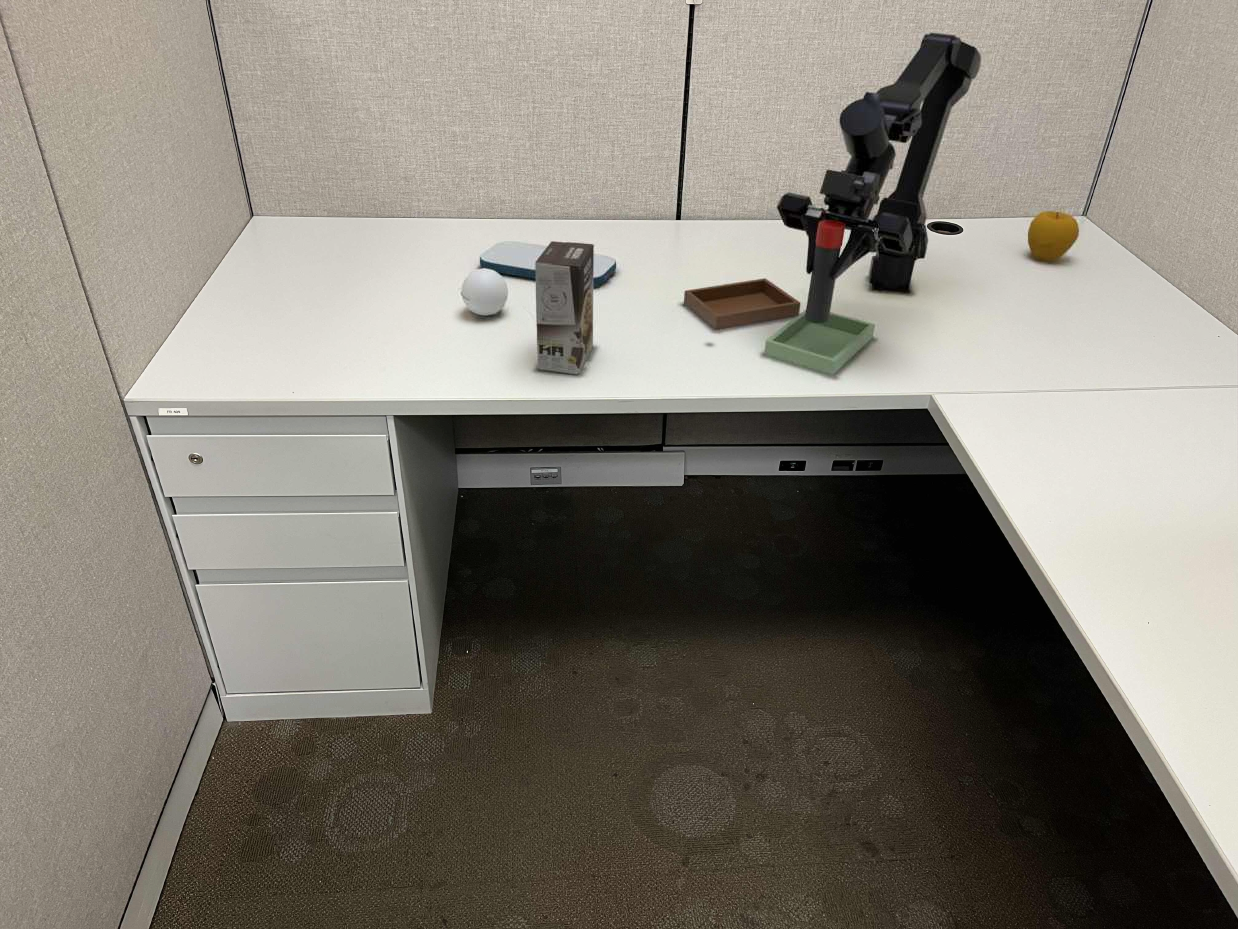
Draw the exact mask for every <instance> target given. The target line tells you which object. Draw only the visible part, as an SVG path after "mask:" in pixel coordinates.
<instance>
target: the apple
mask: <svg viewBox="0 0 1238 929" xmlns="http://www.w3.org/2000/svg"><path fill="white" fill-rule="evenodd" d="M1079 234H1080V228H1079V223H1078V221H1077V219H1076V218H1075V217H1074V216H1072V215H1071V214H1067V213H1065V212H1062V211H1061V212H1060V211H1054V210H1044V211H1042V212H1040V213H1038V214H1037V215H1036V216H1035V217H1033V219H1032V220H1031V222H1030V224H1029V227H1028V231H1027V243H1028V247H1029V251H1030V254H1031V255H1032V257H1033V258H1034V259H1036V260H1039V261H1042V262H1047V263H1051V262H1055V261H1057V260H1059V259H1060V258H1062V257H1063V256H1064V255H1065V254H1066V253H1067V252H1068V251H1069V250H1070V249H1071V248H1072V247H1073V246H1074V244H1075V243H1076V241H1077V240H1078V237H1079Z"/></svg>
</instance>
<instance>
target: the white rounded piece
mask: <svg viewBox="0 0 1238 929" xmlns="http://www.w3.org/2000/svg"><path fill="white" fill-rule="evenodd" d="M460 290H461V291H460V296H461V298H462V301H463V304H464V305H465V306H466V308H467V309H468V310H470V311H471V312H472V313H474V314H476V315H478V316H485V317H487V316H491V315H495V314H497V313H499V312H500V311H501V310H502V309H503V308H504V307H505V305H506V303H507V301H508V296H509V289H508V284H507V282H506V280H505V279H504V277H503V276H502V275H501V273H499V272H496V271H494V270H490V269H486V268H482V267H481V268H478V269H475V270H472V271H471V272H469V274H468V275H466V277H464V279H463V282H462V285H461V288H460Z"/></svg>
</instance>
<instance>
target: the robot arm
mask: <svg viewBox="0 0 1238 929" xmlns="http://www.w3.org/2000/svg"><path fill="white" fill-rule="evenodd" d="M981 63H982V55H981V53H980V52H979V50H978V48H976V46H974V45H970V44H969V43H966V42H965V41H962V39H961V38H960V37H958V36H956V35H955V34H949V33H939V32H930V33H925V34H924V36H923V37H922V40H921V42H920V46H919V48H918V50H917V51H916V53H915V54H914V56H913V57H912V59H911V60H910V61H909V62H908V64H907V65H906V66H905V67H904V69H903V71H902V72H901V74H899V76H898V78H897V79H896V81H894V83H892V84H889V85H885V86H884V87H880V88H879V89H878V90H877V91H876V92H870V91H865V93H864V95H863V97H862V98H859V99H857V100H855V101H852V102H850V103H849V104H848V105H847V106H846V107H845V108H844V109H842V110H841V112H840V116H839V126H840V129H841V133H842V138H843V141H844V146H845V149H846V152H847V153H848V154H849V155H850V158H849V160H848V163H847V165H846V167H845V170H843V169H841V171H839V170H833V169H826V171H825V174H824V177H823V180H822V184H821V186H820V190H819V194H820V195H824V198H823V203H824V205H825V206H828V207H827V209H825V208H824V207H822V206H819V205H818V206H817V205H813V202H812V199H811V197H810V196H808V195H802V194H797V193H793V192H786V193H785V194H783V195H781V197H780V198H779V201H778V202H777V205H776V209H777V212H778V214H779V216H780V218H781V221H782V223H783V225H784V226H785V227H786V228H788V229H793V230H796V231H797V230H798V231H801V232H805V234H806V236H807V239H808V240H807V241H808V242H807V243H808V244H807V256H806V268H805V270H806V275H812V268H813V261H814V255H815V248H816V237H817V230H818V224H819V222H820V221H823V220H835V221H840V222H842V223H844V224H845V230H847V231H850V233H849V236H848V240H847V241H846V244H845V246H844V247H843V249H842V251H841V252H840V256H839V259H838V261H837V263H836V265H835V267H834V269H833V272H832V275H831V279H832V280H835V281H836V280H837V279H838V278H839V277H840V276H841V275H843V274H844V273H845V272H846V271H847V270H848V269H850V268H851V267H852V266H853V265H854V264H856V262H858V261H859V260H861V259H862V258H863V257H865V256H867V255H868V254H869V253H875V255H872V256H871V259H870V265H869V269H868V276H867V279H868V283H869V284H870V286H871V290H872V291H874V292H875V291H876V292H887V293H897V294H898V293H899V294H900V293H901V294H911V292H912V289H911V282H912V277H913V272H914V268H915V263H916V261H917V260H920V259H925V258H926V255H927V251H928V250H927V249H928V244H929V236H928V231H927V225H926V222H927V218H928V215H927V211H926V210H927V209H926V207H925V202H924V195H925V192H926V189H927V185H928V182H929V180H930V176H931V173H932V171H933V167H934V164H935V161H936V158H937V155H938V152H939V148H940V145H941V142H942V139H943V136H944V133H945V130H946V127H947V124H948V120H949V117H950V114H951V111H952V108H953V107H954V106H955V105H956V104H958V102H959V101H960V100H961V99H962V98H964V96H965V95H966V94H968V92H969V89H970V87H971V84H972V81H973V80H975V79H976V78H977V76H978V73H979V70H980V67H981ZM909 141H910V143H909V145H908V149H907V151H906V152H907V153H906V155H905V159H904V162H903V165H902V167H901V171H900V175H899V178H898V181H897V183H896V187H895V189H894V190H893V192H891V194H889V195H888V196H887V197H885V196H884V197H883V198H882V200H881V201H880V198H881V197H880V194H881V190H882V189H883V185H884V184H885V181H886V179H887V177H888V174H889V172H890V170H892V169H893V168H894V163H895V158H896V156H897V153H896V149H895V147H894V145H893V144H892V143H891V142H894V143H900V144H906V143H907V142H909ZM878 203H879V205H878ZM875 205H878V210H877V212H876V214H874V216H873V218H872V219H869V217H870V215H871V213H872V211H873V208H874V206H875Z"/></svg>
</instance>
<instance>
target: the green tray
mask: <svg viewBox="0 0 1238 929" xmlns="http://www.w3.org/2000/svg"><path fill="white" fill-rule="evenodd" d="M805 314H806V309H804V310H802V312H801V313H799V315H798V316H795V317H794V318H793V319H792V320H790V321H789V322H788V323H787V324H786V325H784V326H783V327H781V328H780V329H778V331H776V332H775V333H774V334H773V335H771V336H770V337H769V338H768V339H766V340H765V344H764V345H765V346H764V352H763V355H764V356H769V357H772V358H774V359H778V360H781V361H784V362H788V363H791V364H793V365H797V366H801V367H803V368H807V369H810V370H814V371H815V372H820V373H823V374H826V375H830V376H834V375H835V374H837V372H838V371H839V370H840V369H841V368H842V367H844V365H846V364H847V363H848V362H849V361H850V360H851V359H852V358H853V357H854V356H855V355H856V354H857V353H858V352H859V351H860V350H861V349H863V347H865V346H866V345H867V344H868V343H869V342H870V341H871V340H872V339H873V336H874V331H875V326H876V324H875V323H873V322H872V323H871V322H868V321H865V320H860V319H857V318H854V317H850V316H845V315H842V314H838V313H835V312H831V311H830V315H829V320H828V321H827V322H825V323H813V322H810V321H808V320H806V318H805Z"/></svg>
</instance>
